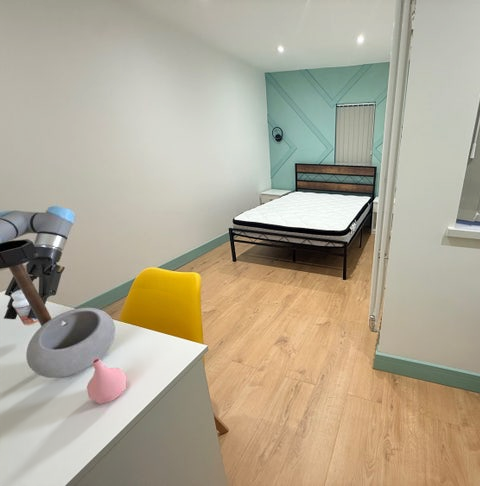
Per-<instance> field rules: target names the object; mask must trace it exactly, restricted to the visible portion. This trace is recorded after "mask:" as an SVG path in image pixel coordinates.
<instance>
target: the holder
mask: <svg viewBox="0 0 480 486" xmlns="http://www.w3.org/2000/svg"><path fill="white" fill-rule="evenodd" d="M33 243H34V241H32V240H31V239H29V238H27V239H26V238H25V239H13V240H10V241H7V242H2V243H0V270H2V269H9V267H13V266H17V265H20V264H23V265H24V264H27V263H28V262H29V261H31V260H33V259H35V258H36V257H37V256H38V254H37V250H36V248H35V246H34V244H33Z"/></svg>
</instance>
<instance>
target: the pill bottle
mask: <svg viewBox="0 0 480 486" xmlns="http://www.w3.org/2000/svg"><path fill="white" fill-rule="evenodd" d="M11 296H12V298H13V300H14V301H13V303H12V305H13V307H14V309H15V311H16V312H17V317H18V318H19V319H20V321H21V322H22V324H23V325H24V326H27V327H29V326H30V327H31V326H35V325H38V324H40V323H39V321H38V319H33V318H27V317H28V314H29V311H30V309H31V307H30V305H29V303H28V301H27V299H26V298H25V296H24V294H23V292H22V290H18V291H16V292H14V293H12V294H11ZM45 307H46V309H47V311H48V313H49V314H50V312H49V310H48V308H47V306H46V305H45Z"/></svg>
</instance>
